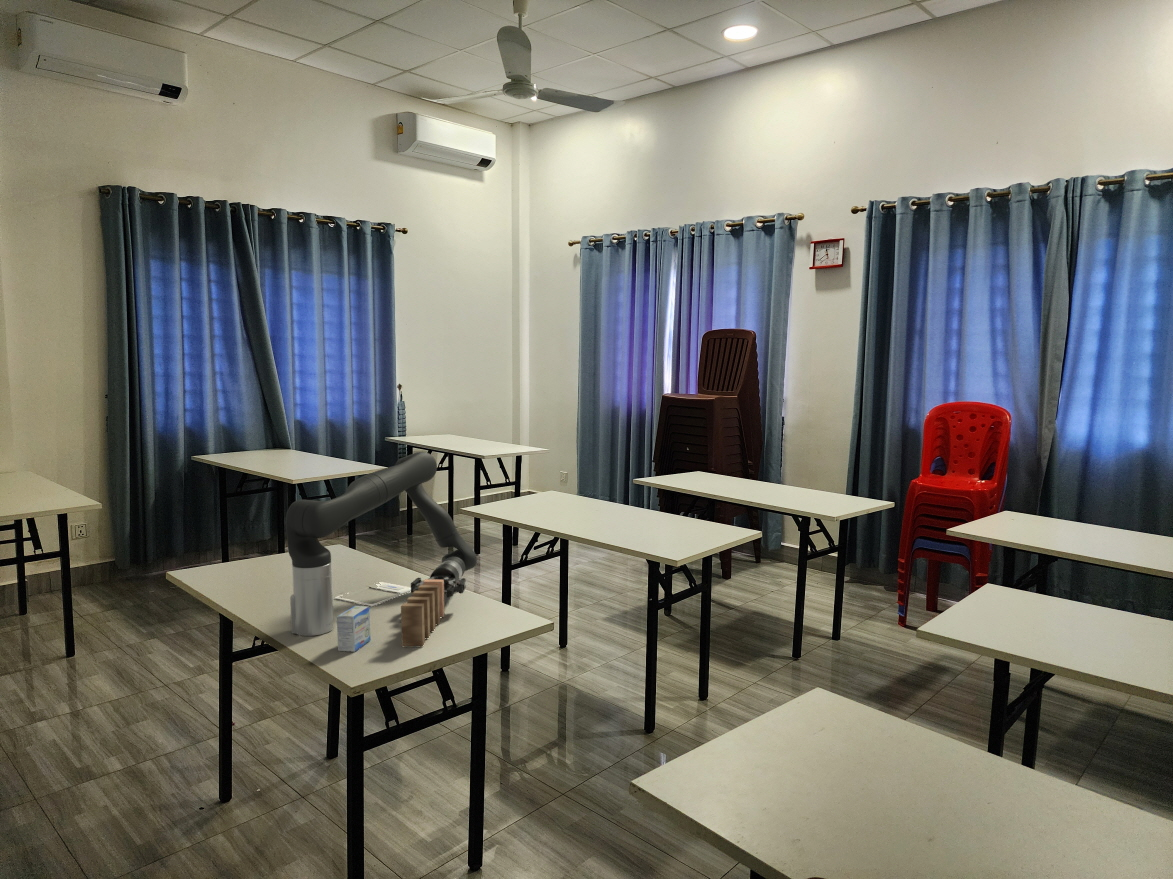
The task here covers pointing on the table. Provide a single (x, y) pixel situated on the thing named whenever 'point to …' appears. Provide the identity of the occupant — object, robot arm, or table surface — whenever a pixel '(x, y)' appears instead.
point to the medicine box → (353, 628)
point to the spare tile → (441, 591)
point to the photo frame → (386, 587)
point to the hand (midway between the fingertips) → (432, 593)
